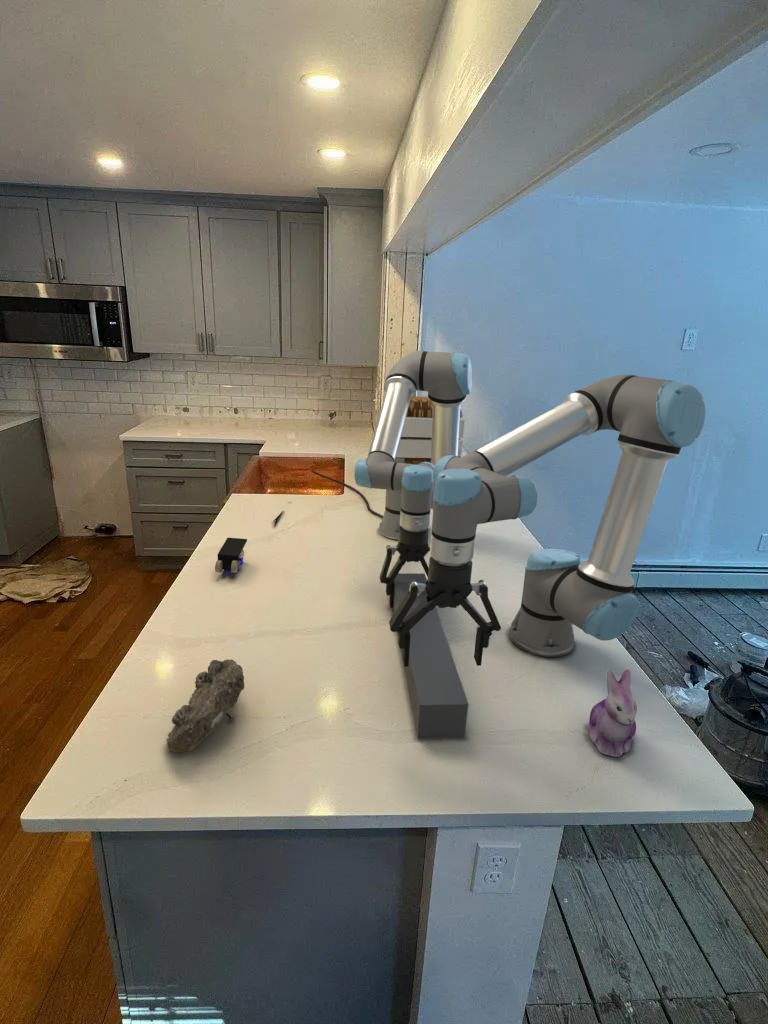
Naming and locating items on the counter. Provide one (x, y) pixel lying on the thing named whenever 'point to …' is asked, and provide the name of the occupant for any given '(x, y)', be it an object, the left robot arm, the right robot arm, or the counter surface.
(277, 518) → the feather
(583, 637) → the counter surface
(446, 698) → the long dark grey beam
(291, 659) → the counter surface
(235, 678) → the fossil
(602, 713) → the figurine
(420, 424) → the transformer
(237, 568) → the black wheeled cart
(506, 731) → the counter surface
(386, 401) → the left robot arm
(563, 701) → the counter surface
